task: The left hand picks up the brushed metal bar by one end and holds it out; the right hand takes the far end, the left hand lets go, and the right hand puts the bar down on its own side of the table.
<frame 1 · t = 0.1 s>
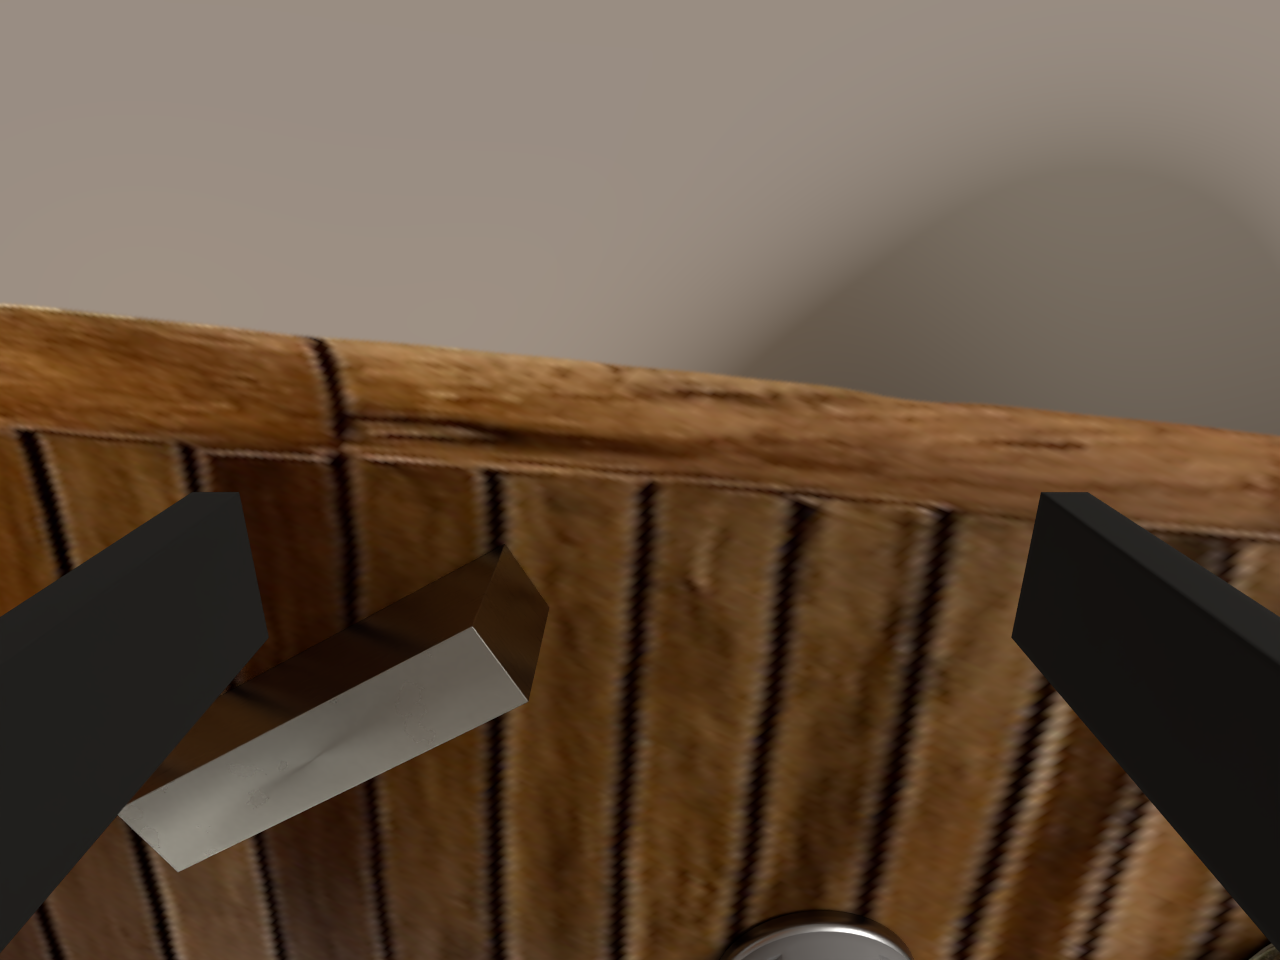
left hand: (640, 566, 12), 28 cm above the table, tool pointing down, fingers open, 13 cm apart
bar: (374, 656, 46), on the table
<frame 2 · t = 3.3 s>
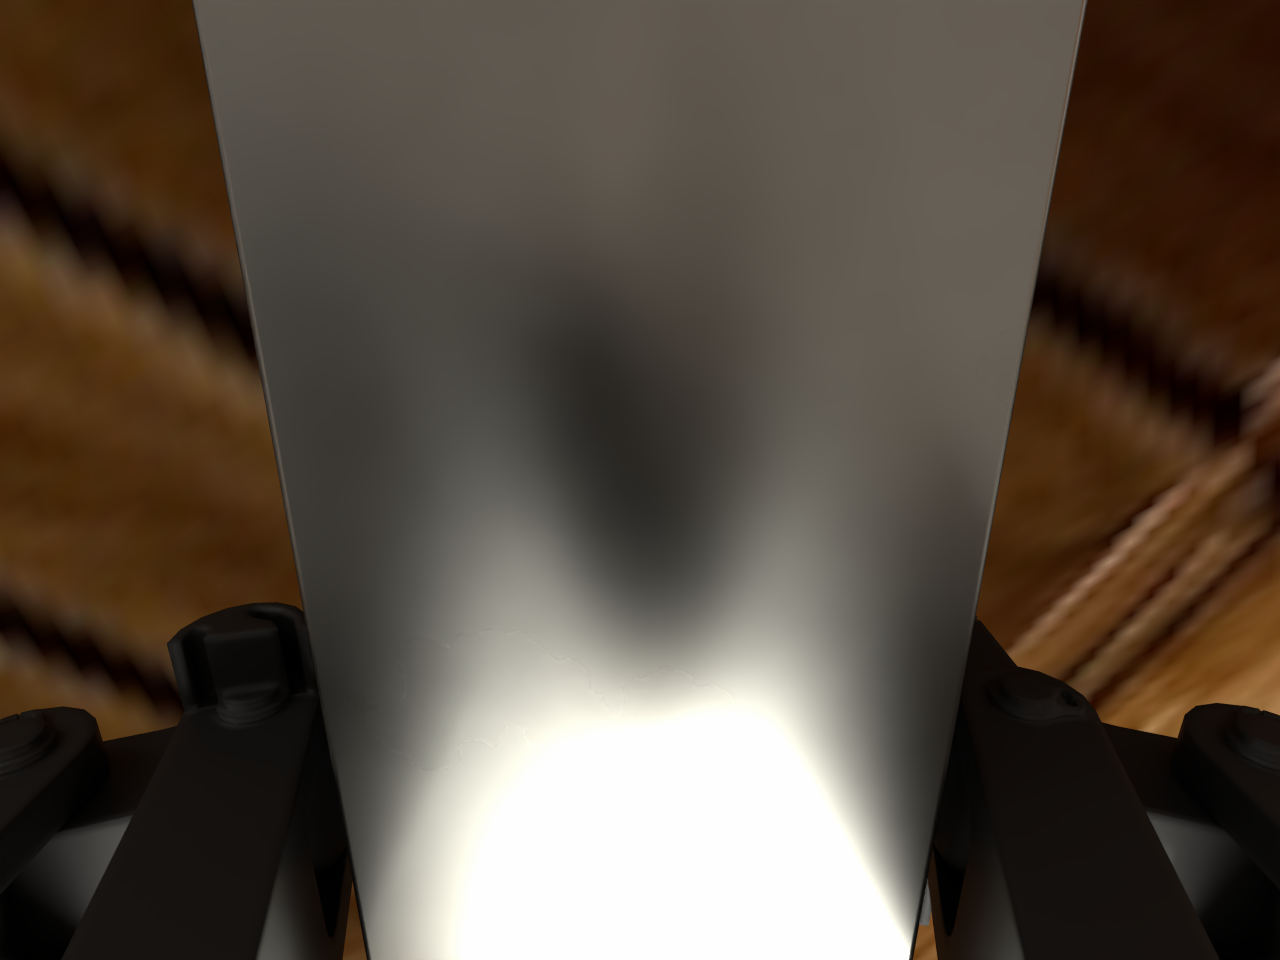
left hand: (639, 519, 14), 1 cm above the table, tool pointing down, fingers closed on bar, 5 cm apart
bar: (639, 67, 12), on the table, touching left hand
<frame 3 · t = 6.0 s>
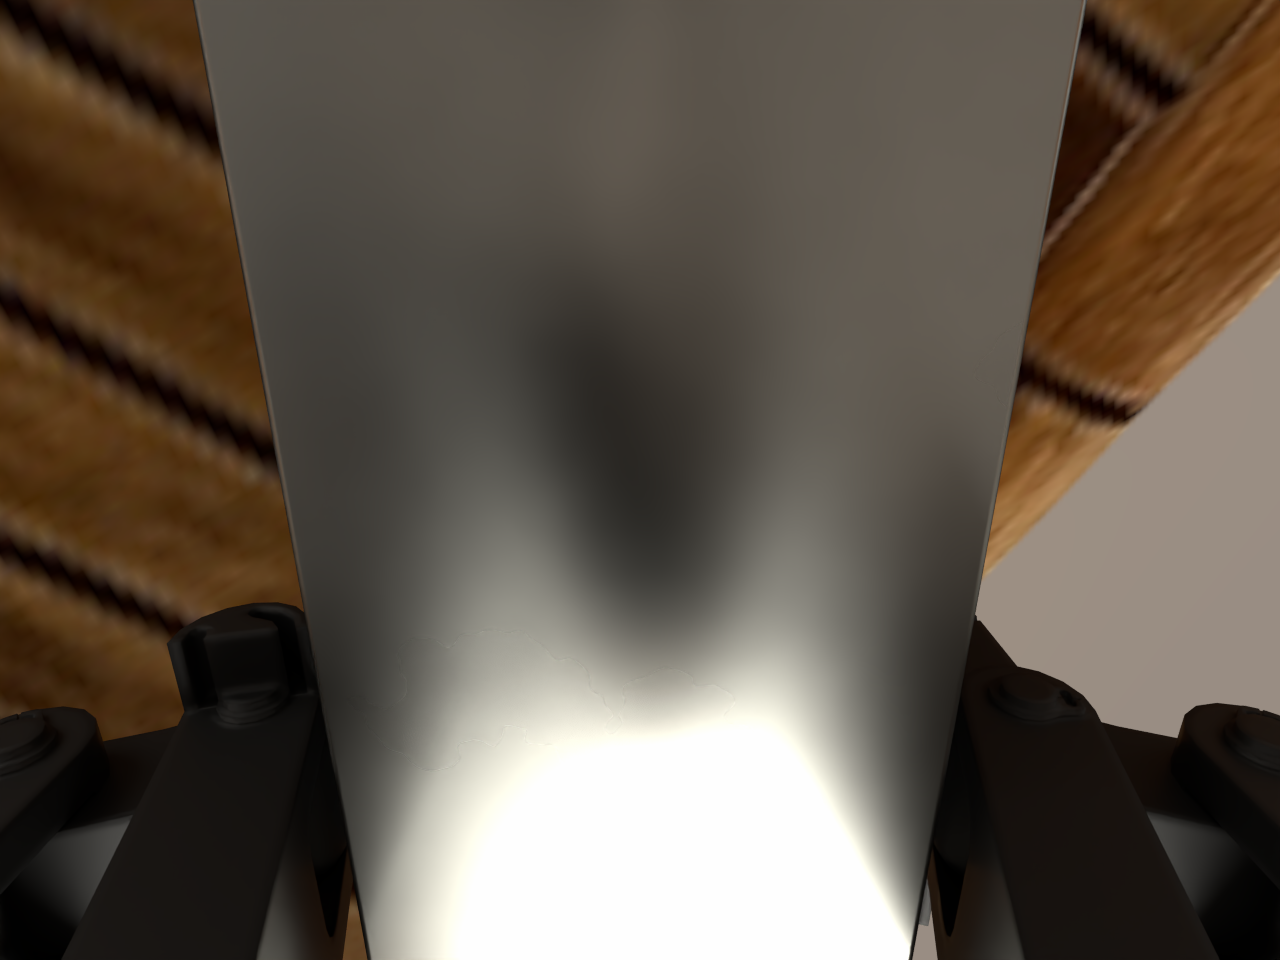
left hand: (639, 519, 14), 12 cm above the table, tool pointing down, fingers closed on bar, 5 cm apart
bar: (639, 67, 12), point 11 cm above the table, touching left hand
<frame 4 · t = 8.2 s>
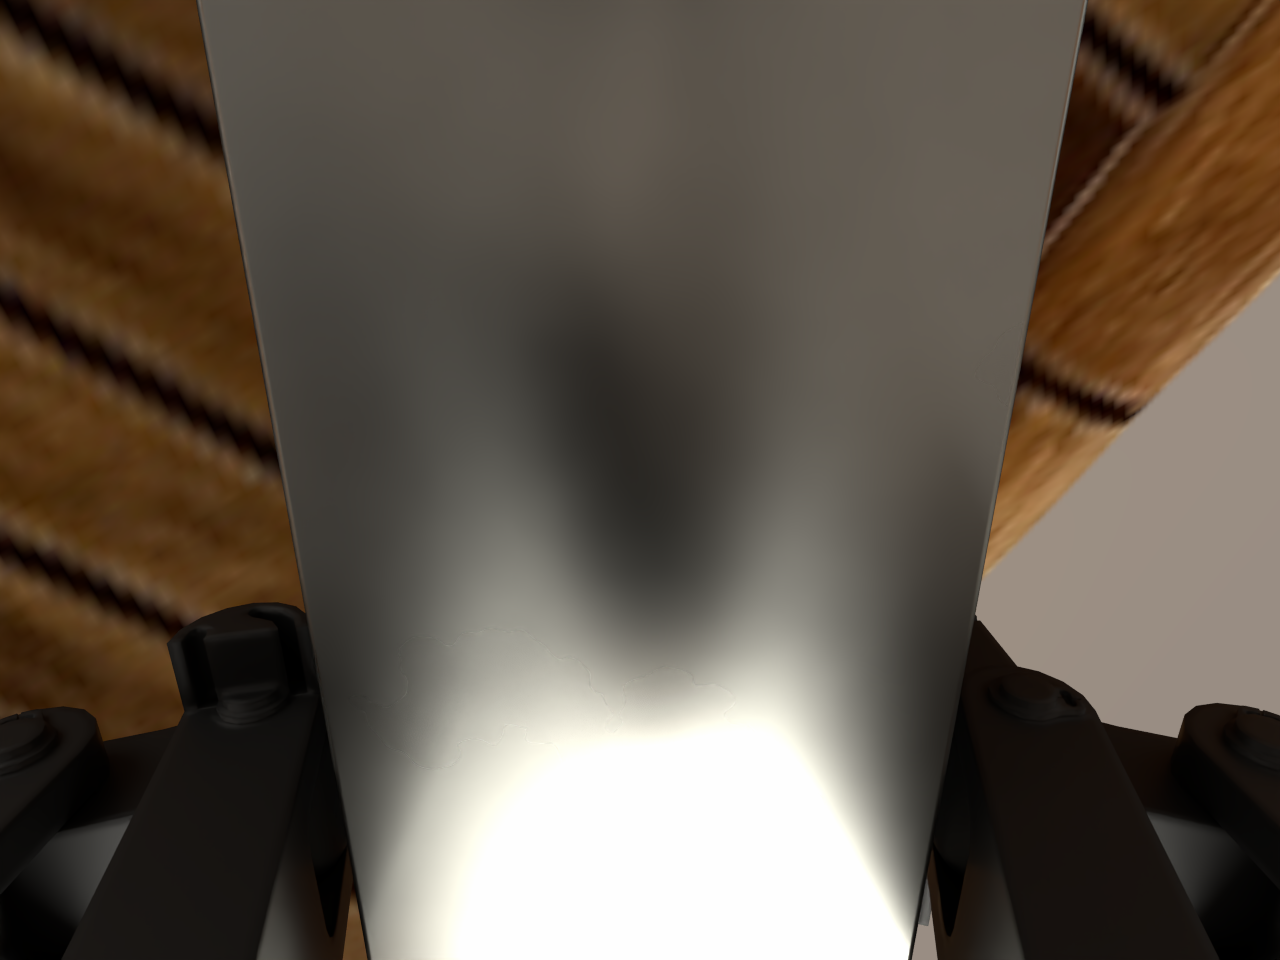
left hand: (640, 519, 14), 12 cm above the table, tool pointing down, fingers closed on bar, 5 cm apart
bar: (640, 67, 12), point 11 cm above the table, touching left hand, right hand
when the left hand's fingers open (12 cm above the table, at t = 8.7 s): bar stays where it is, held by the right hand.
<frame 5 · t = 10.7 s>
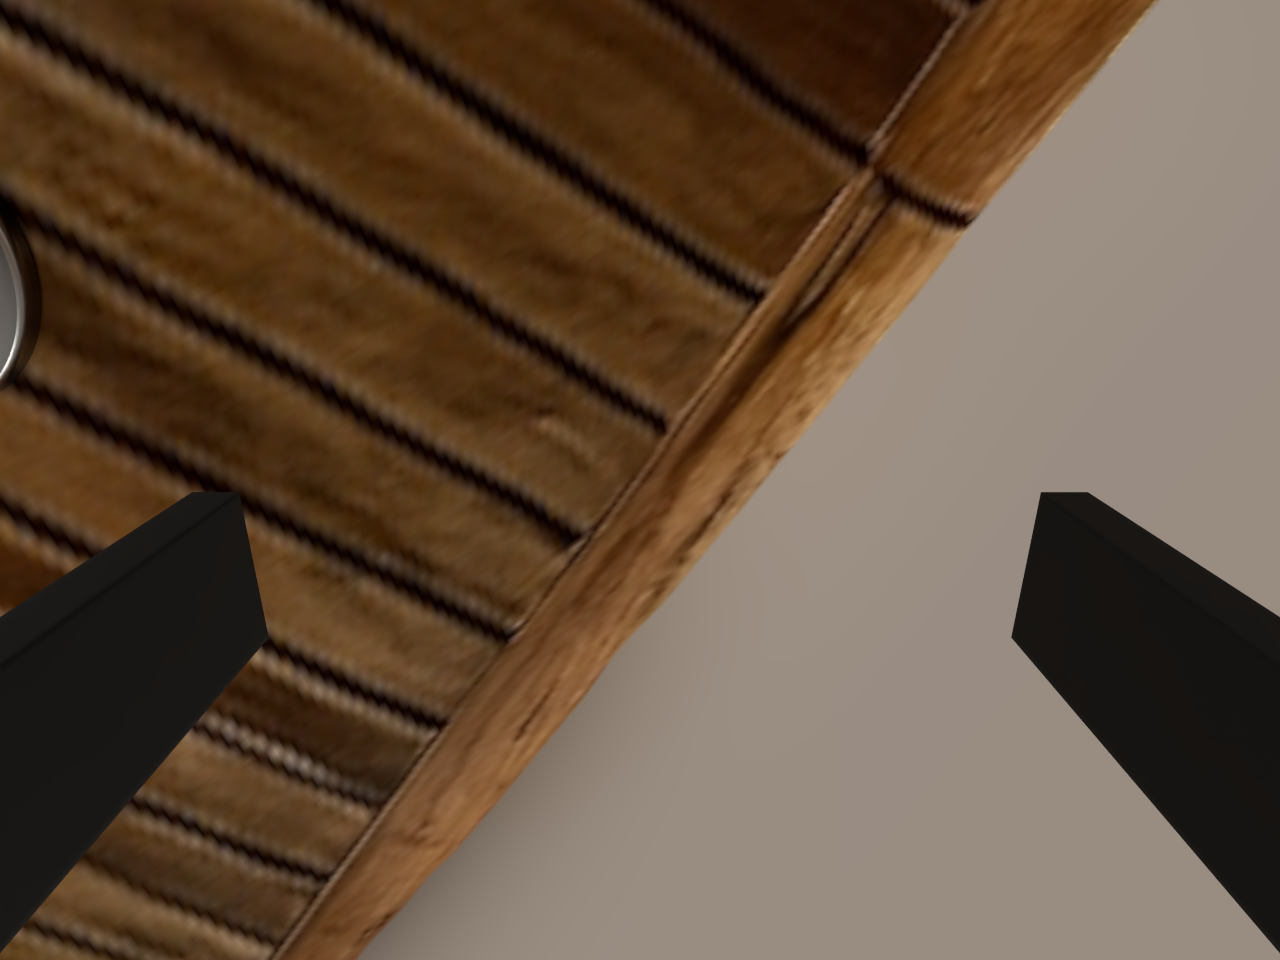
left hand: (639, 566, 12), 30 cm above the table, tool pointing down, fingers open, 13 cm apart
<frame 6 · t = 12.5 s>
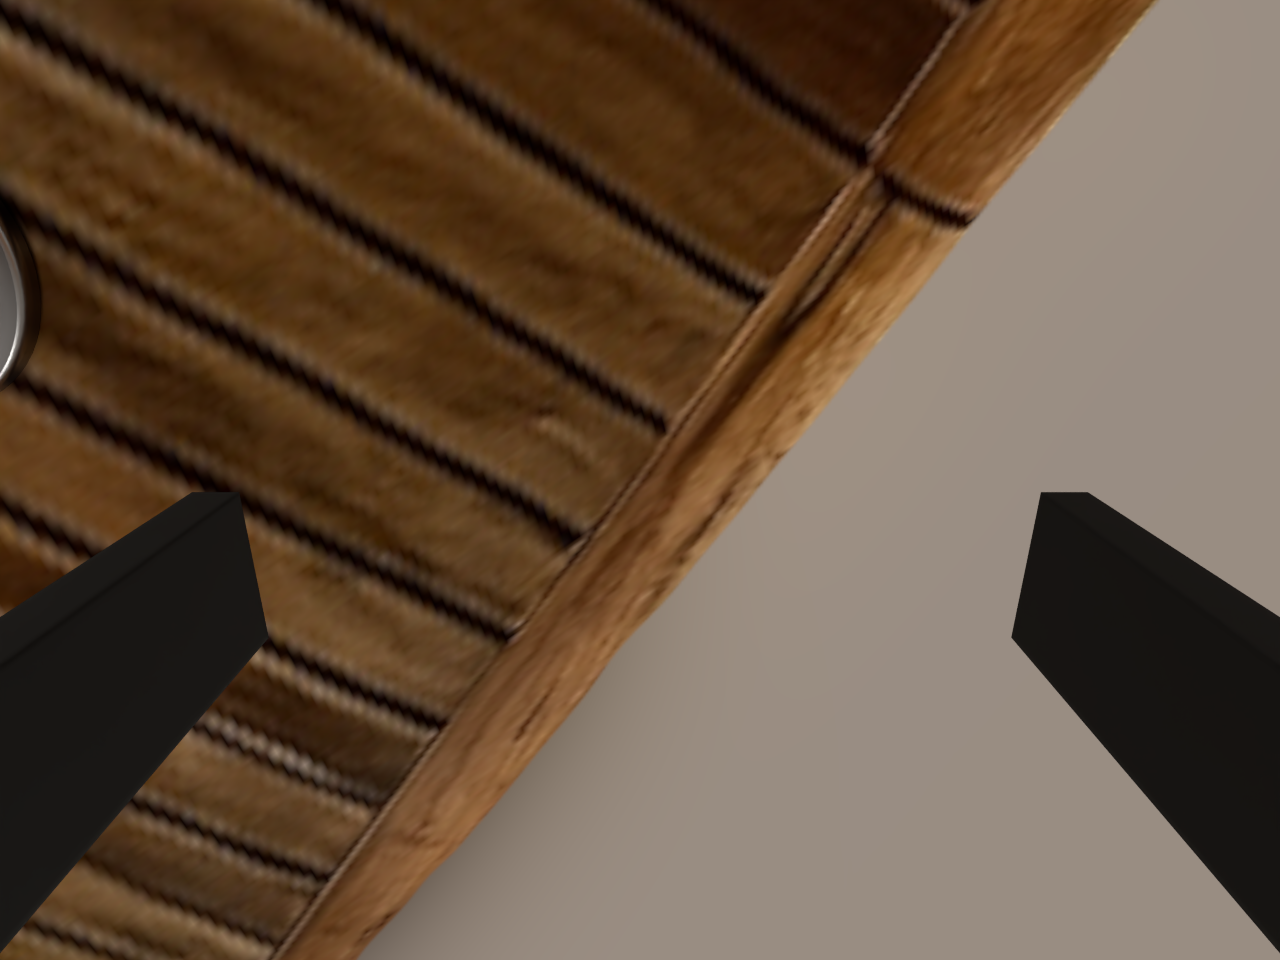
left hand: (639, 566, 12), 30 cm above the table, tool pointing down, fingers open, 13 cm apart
when the right hand's fingers open (2 cm above the table, at t = 13.7 s): bar drops 1 cm, on the table.
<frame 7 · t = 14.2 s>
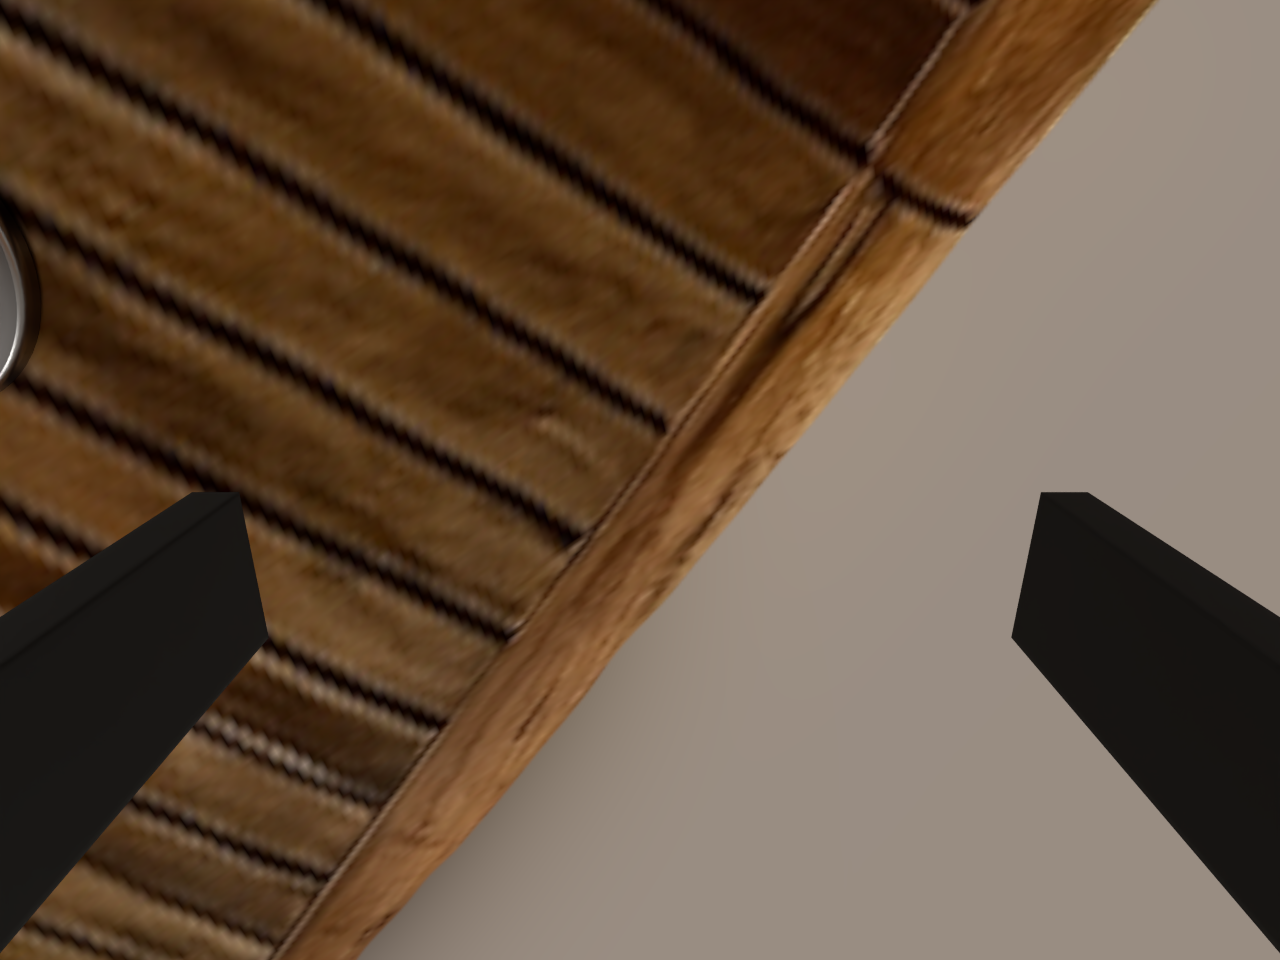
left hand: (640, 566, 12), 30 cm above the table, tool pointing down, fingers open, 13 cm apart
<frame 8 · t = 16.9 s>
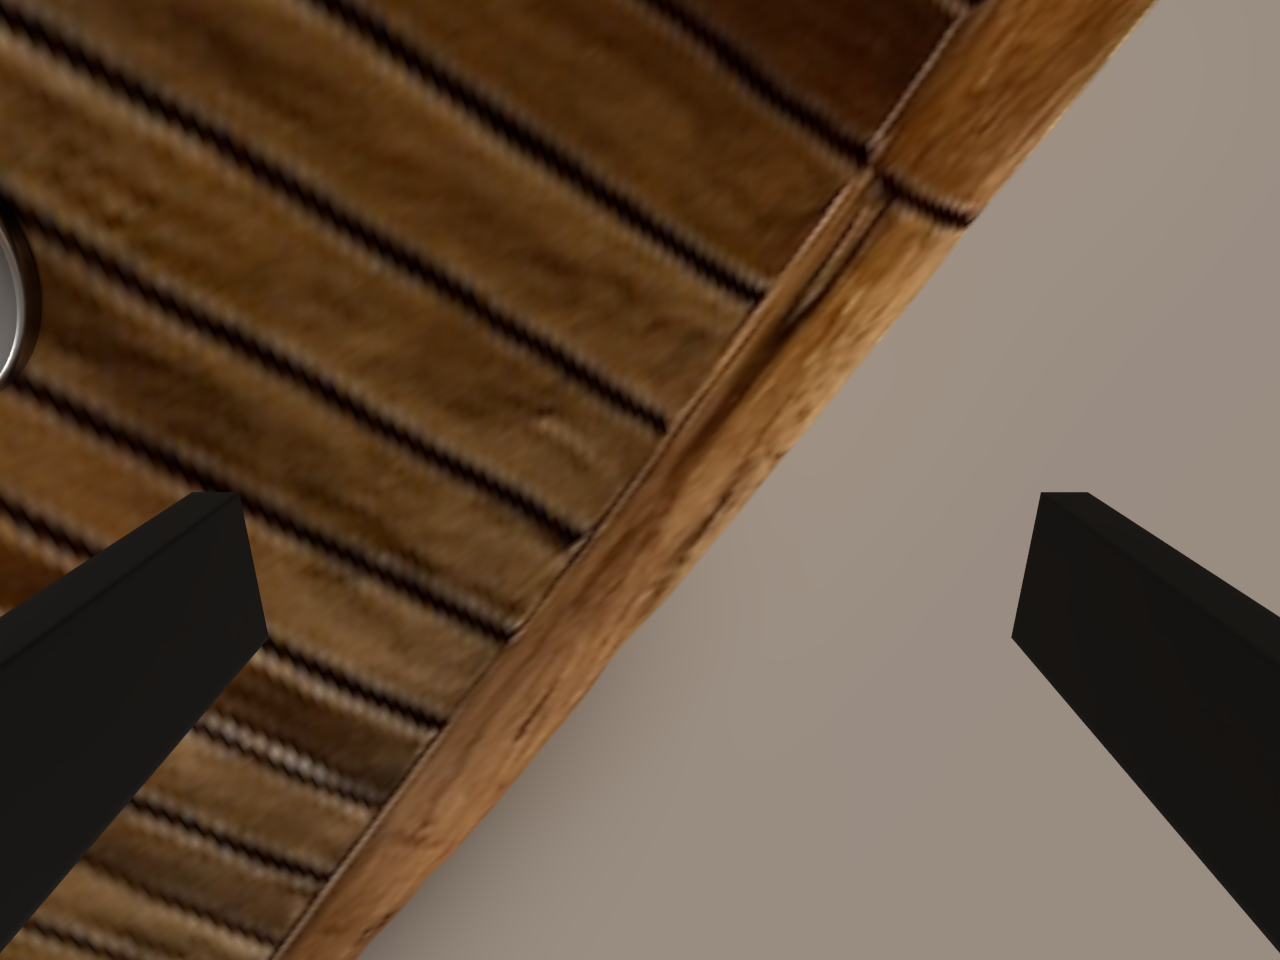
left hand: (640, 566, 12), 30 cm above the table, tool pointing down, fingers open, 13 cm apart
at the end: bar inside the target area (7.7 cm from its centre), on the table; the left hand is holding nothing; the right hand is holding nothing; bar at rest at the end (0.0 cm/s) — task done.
